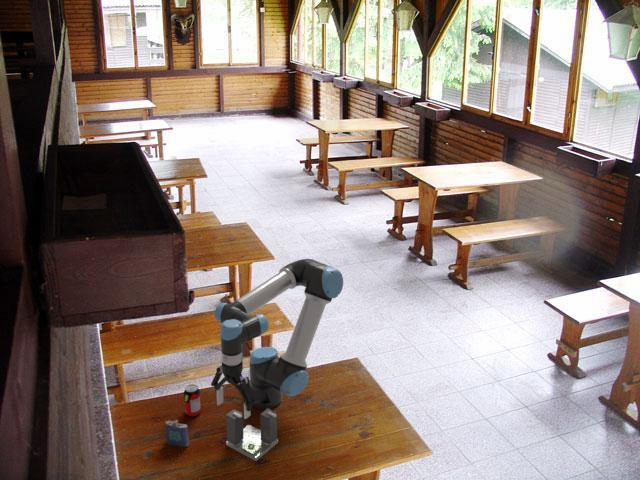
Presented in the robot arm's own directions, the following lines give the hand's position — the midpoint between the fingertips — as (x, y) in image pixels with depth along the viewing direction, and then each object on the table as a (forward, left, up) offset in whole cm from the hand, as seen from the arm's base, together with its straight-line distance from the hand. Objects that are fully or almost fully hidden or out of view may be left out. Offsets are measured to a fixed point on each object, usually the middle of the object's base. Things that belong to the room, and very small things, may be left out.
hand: (233, 410), depth 239 cm
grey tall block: (+10, +8, -14) cm, 19 cm away
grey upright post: (0, 0, -14) cm, 14 cm away
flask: (-18, -13, -16) cm, 27 cm away
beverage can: (-27, +4, -16) cm, 32 cm away
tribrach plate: (+5, +4, -16) cm, 17 cm away
